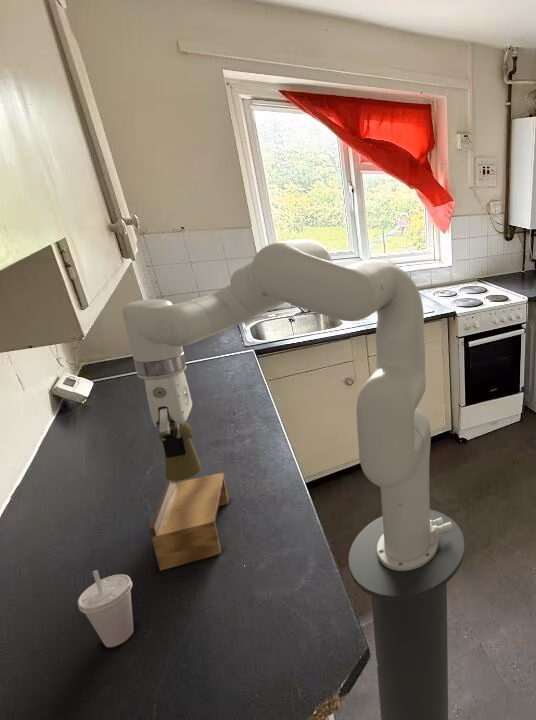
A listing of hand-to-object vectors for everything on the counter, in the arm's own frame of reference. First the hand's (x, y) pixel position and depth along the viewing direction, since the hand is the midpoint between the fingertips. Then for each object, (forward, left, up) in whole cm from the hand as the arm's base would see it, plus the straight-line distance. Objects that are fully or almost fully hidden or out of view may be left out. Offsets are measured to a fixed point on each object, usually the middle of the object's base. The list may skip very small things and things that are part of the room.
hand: (179, 447), depth 86 cm
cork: (0, 0, -6) cm, 6 cm away
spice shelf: (0, 0, -21) cm, 21 cm away
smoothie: (+8, +22, -21) cm, 32 cm away
